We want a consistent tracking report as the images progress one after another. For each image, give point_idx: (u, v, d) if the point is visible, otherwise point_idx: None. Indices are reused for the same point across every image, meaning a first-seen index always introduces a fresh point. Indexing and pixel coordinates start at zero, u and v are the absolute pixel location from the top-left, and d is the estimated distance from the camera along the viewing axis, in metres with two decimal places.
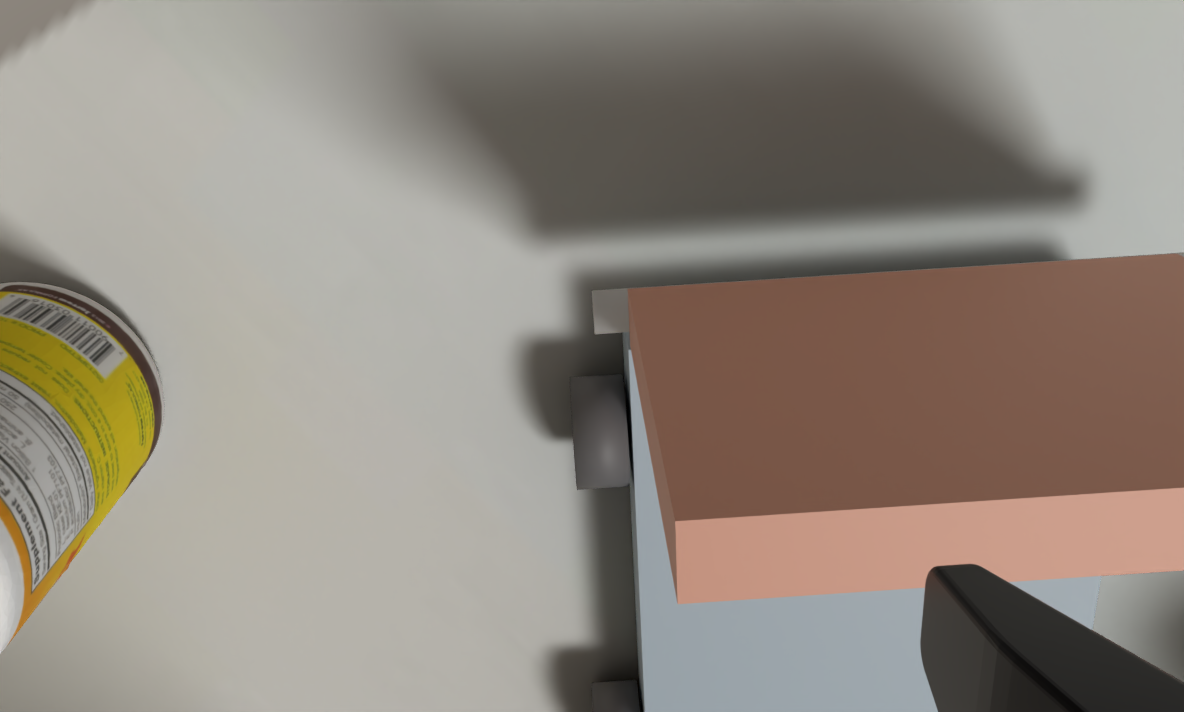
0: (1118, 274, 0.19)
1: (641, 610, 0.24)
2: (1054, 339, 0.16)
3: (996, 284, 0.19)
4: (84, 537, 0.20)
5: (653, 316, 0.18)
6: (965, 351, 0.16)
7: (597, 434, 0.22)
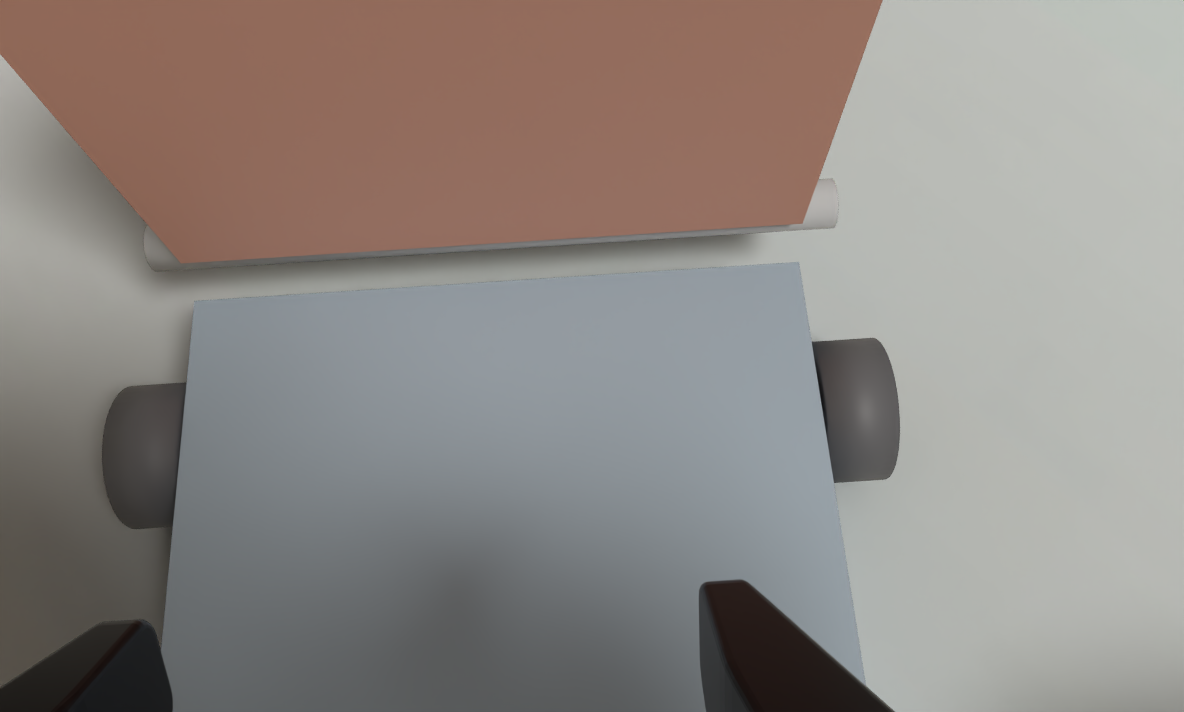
0: None
1: None
2: None
3: None
4: None
5: None
6: None
7: (141, 406, 0.17)
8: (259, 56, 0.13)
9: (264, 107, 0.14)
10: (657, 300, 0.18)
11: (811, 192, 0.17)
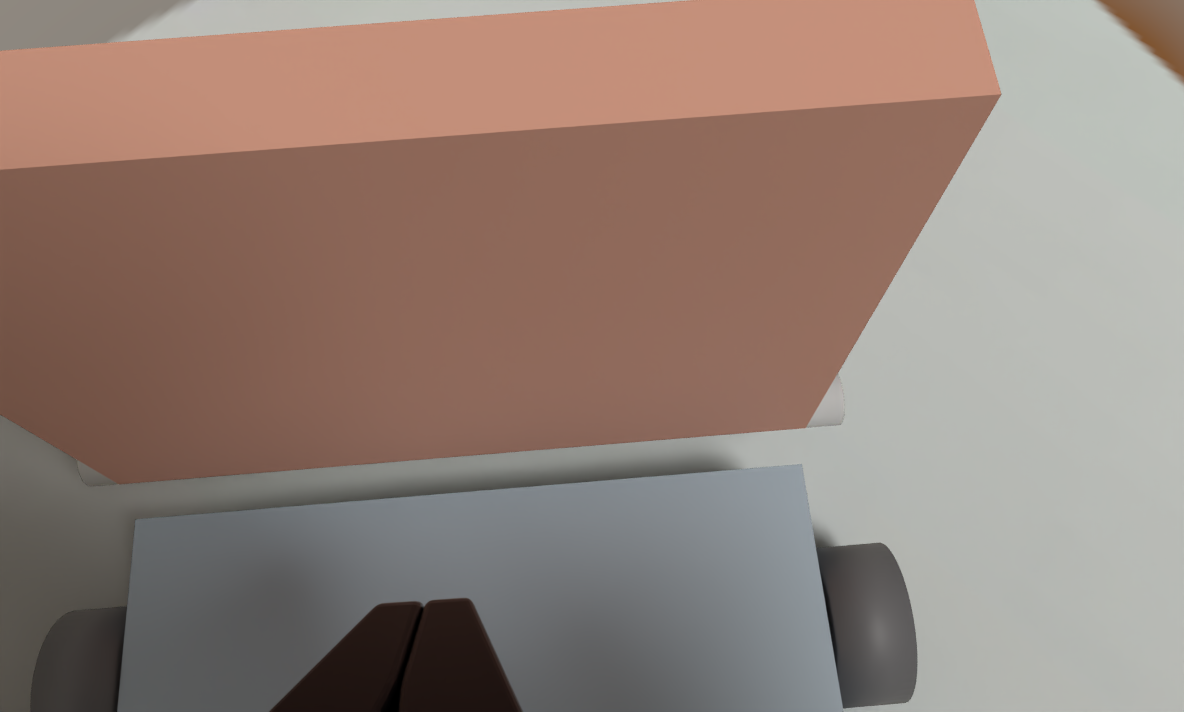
0: None
1: None
2: None
3: None
4: None
5: None
6: None
7: (75, 647, 0.16)
8: (186, 334, 0.11)
9: (198, 371, 0.12)
10: (647, 512, 0.16)
11: (815, 406, 0.15)
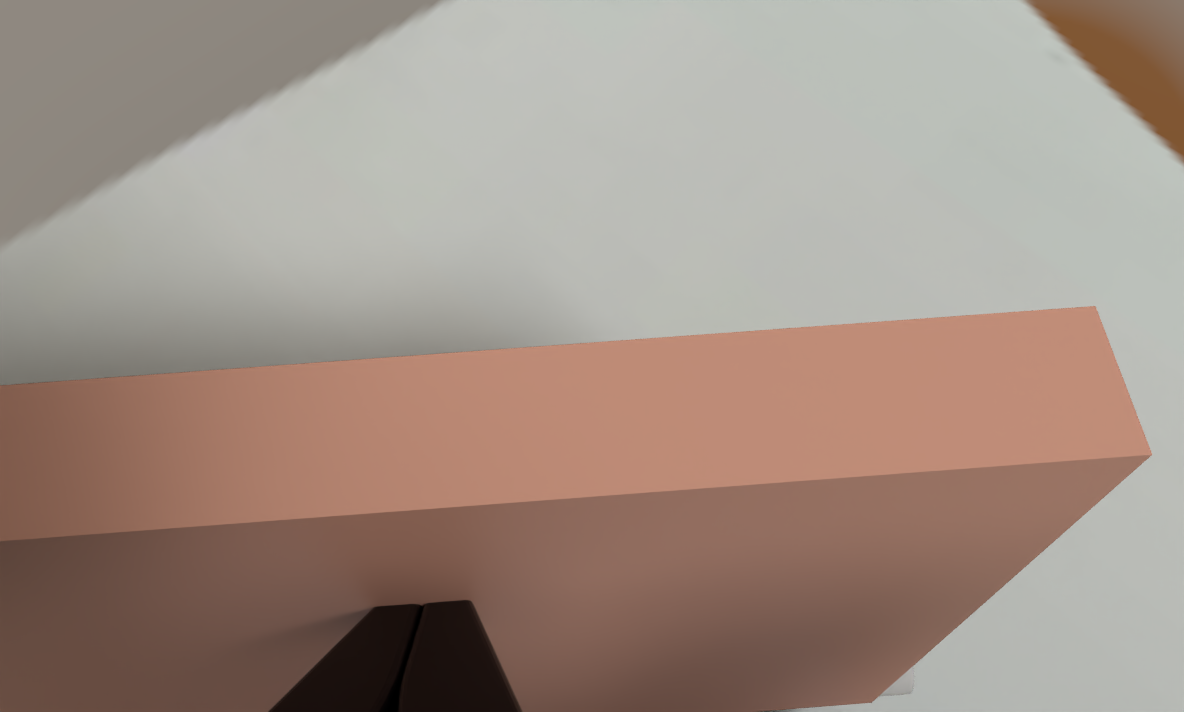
0: None
1: None
2: None
3: None
4: None
5: None
6: None
7: None
8: (172, 658, 0.10)
9: (185, 684, 0.10)
10: None
11: (885, 687, 0.13)
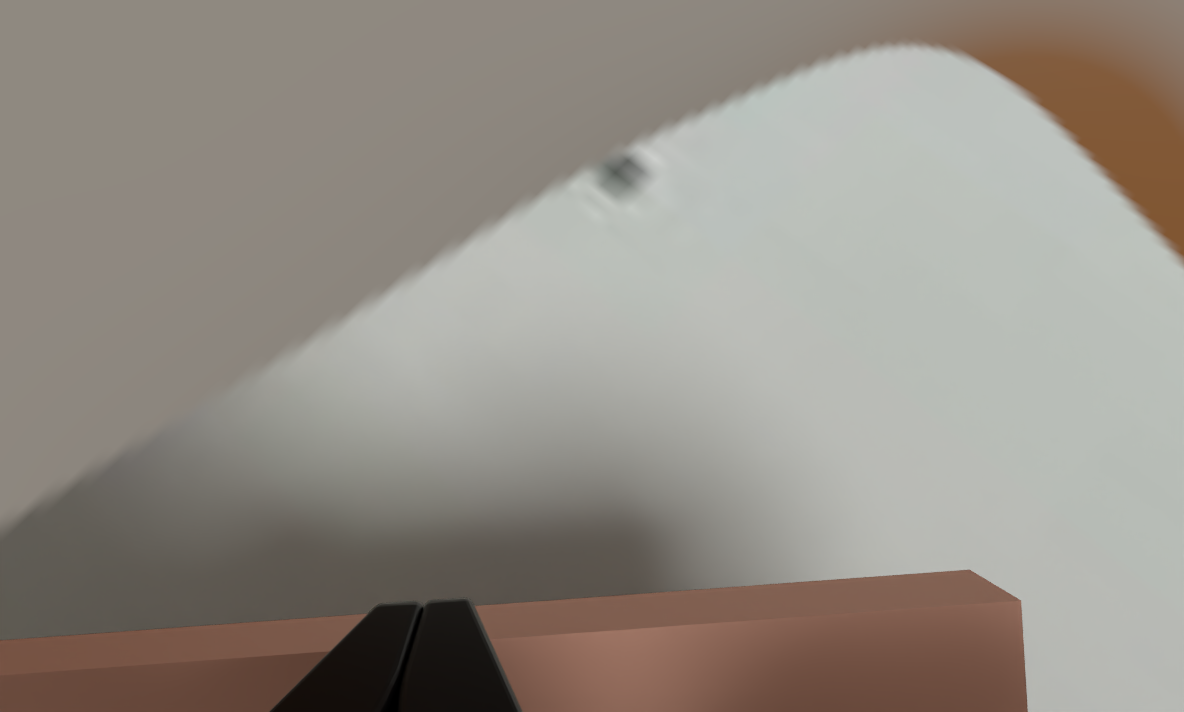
0: None
1: None
2: None
3: None
4: None
5: None
6: None
7: None
8: None
9: None
10: None
11: None
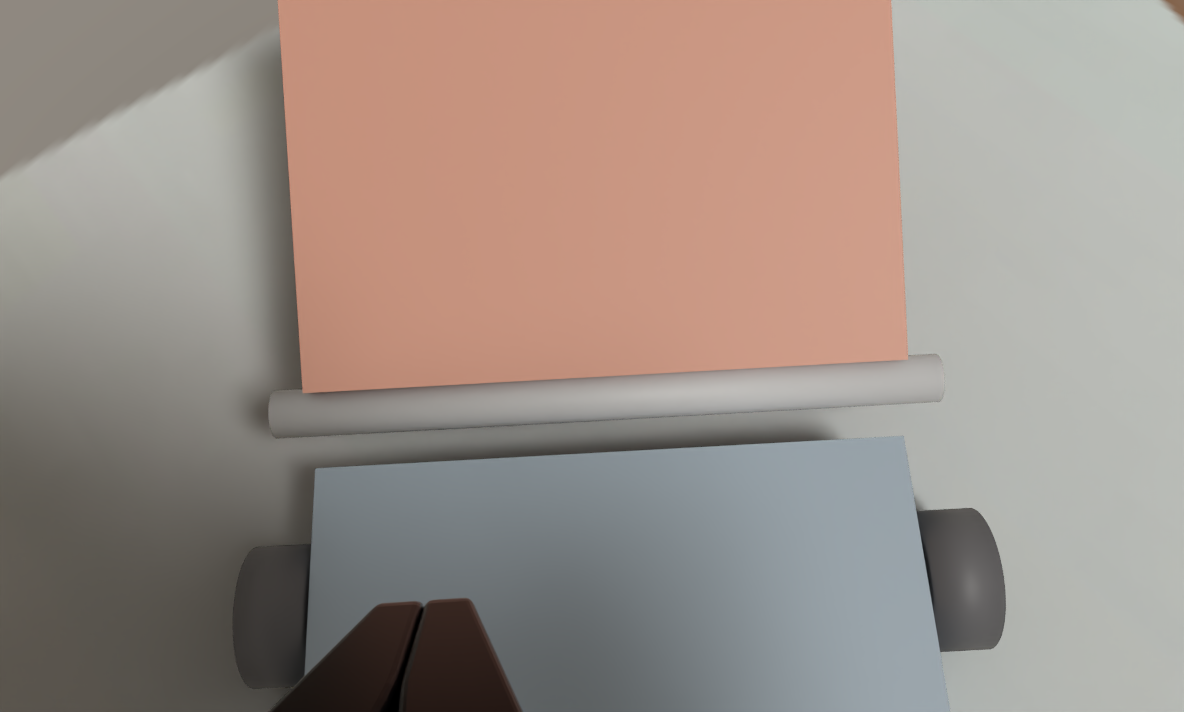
0: None
1: None
2: None
3: None
4: None
5: None
6: None
7: (268, 577, 0.18)
8: (456, 90, 0.18)
9: (444, 150, 0.18)
10: (765, 474, 0.18)
11: (902, 302, 0.18)
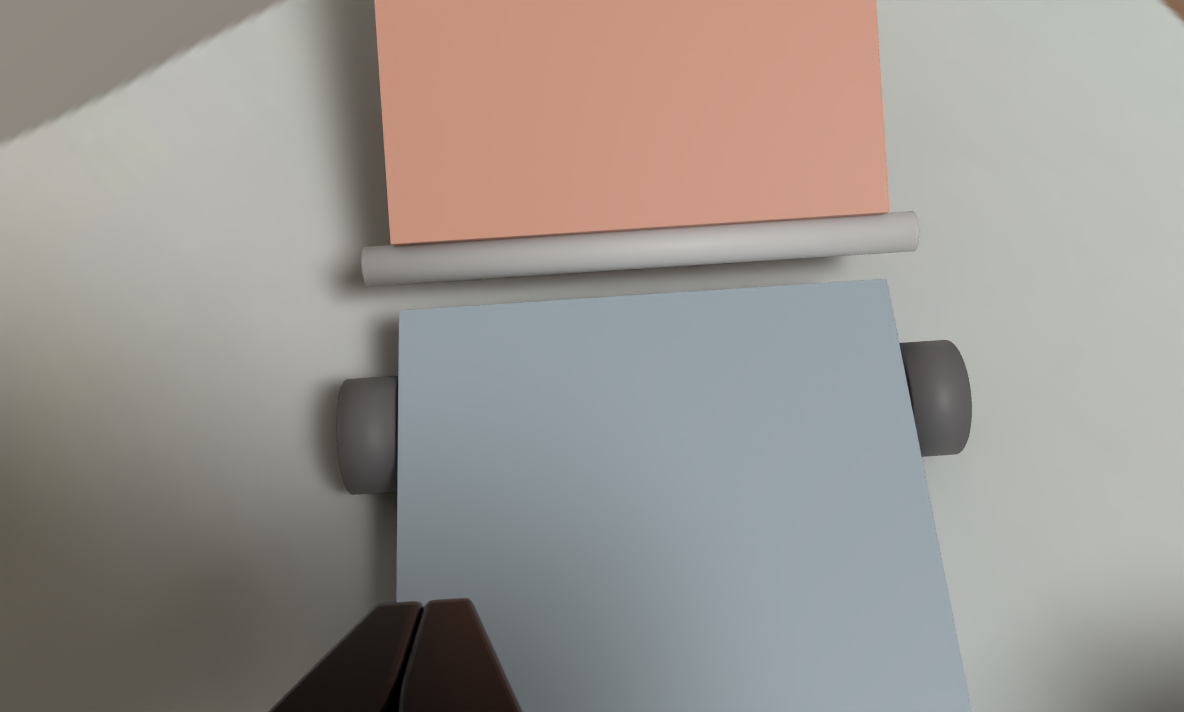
0: None
1: None
2: None
3: None
4: None
5: None
6: None
7: (363, 395, 0.22)
8: None
9: (507, 42, 0.22)
10: (773, 309, 0.22)
11: (884, 165, 0.22)
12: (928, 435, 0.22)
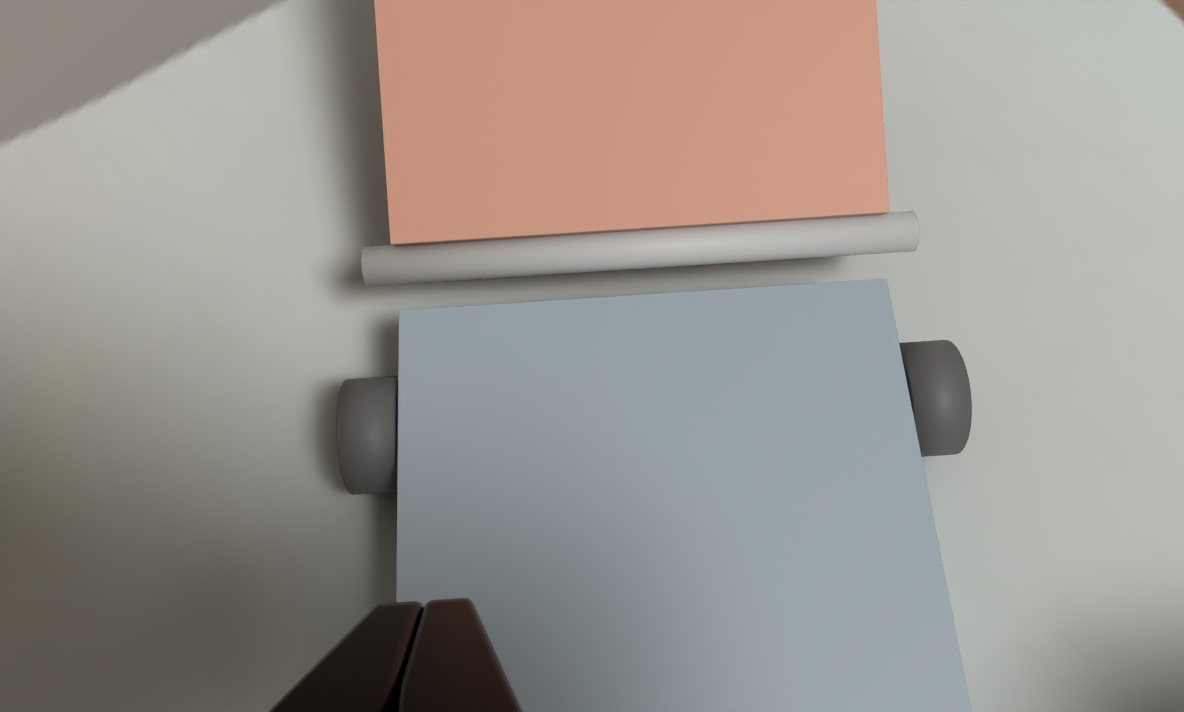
0: None
1: None
2: None
3: None
4: None
5: None
6: None
7: (363, 395, 0.22)
8: None
9: (507, 42, 0.22)
10: (773, 309, 0.22)
11: (884, 165, 0.22)
12: (928, 435, 0.22)
